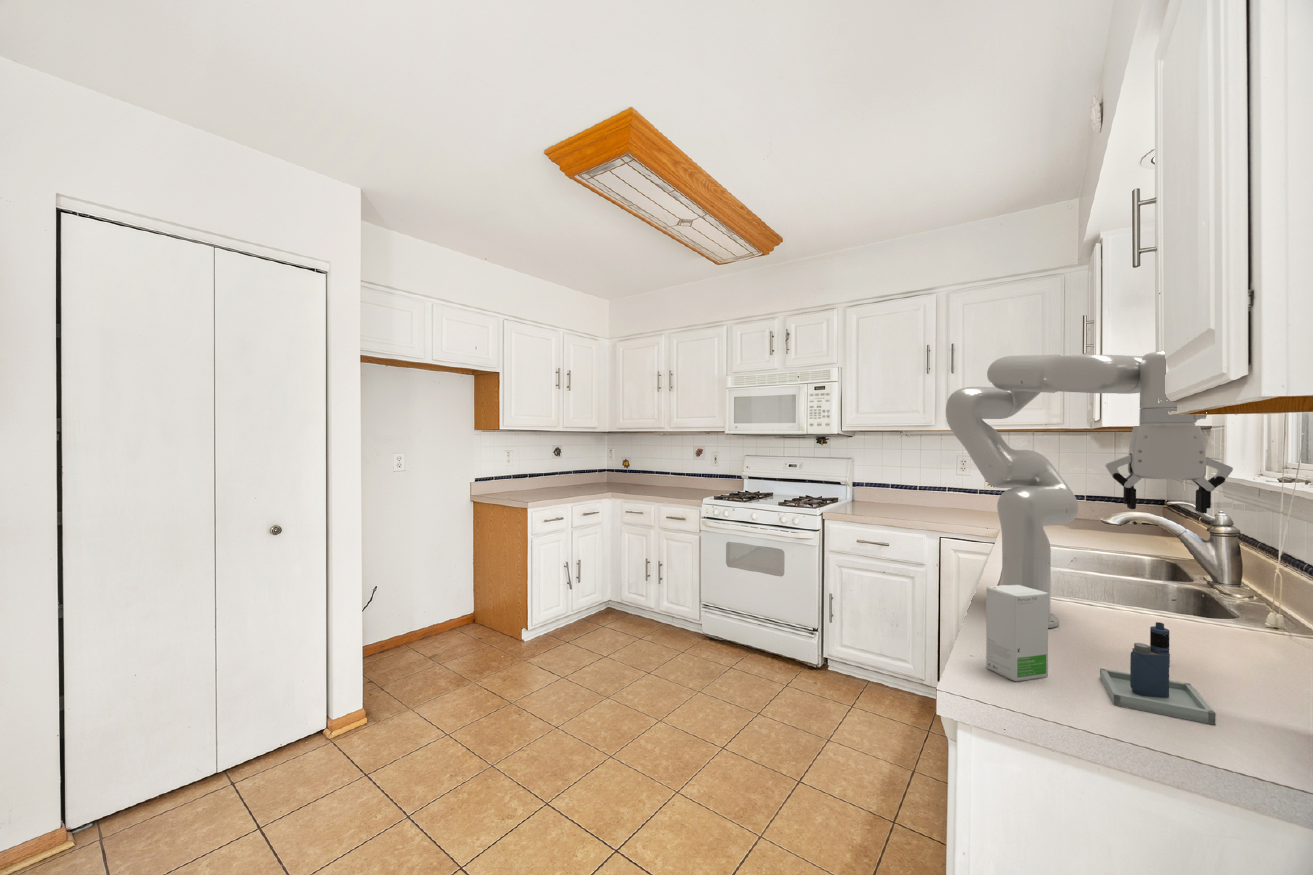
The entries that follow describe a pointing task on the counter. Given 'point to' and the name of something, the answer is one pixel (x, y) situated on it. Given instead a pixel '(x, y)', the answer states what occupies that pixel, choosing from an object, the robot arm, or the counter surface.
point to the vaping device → (1151, 664)
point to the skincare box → (1017, 632)
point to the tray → (1158, 698)
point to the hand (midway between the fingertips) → (1165, 510)
